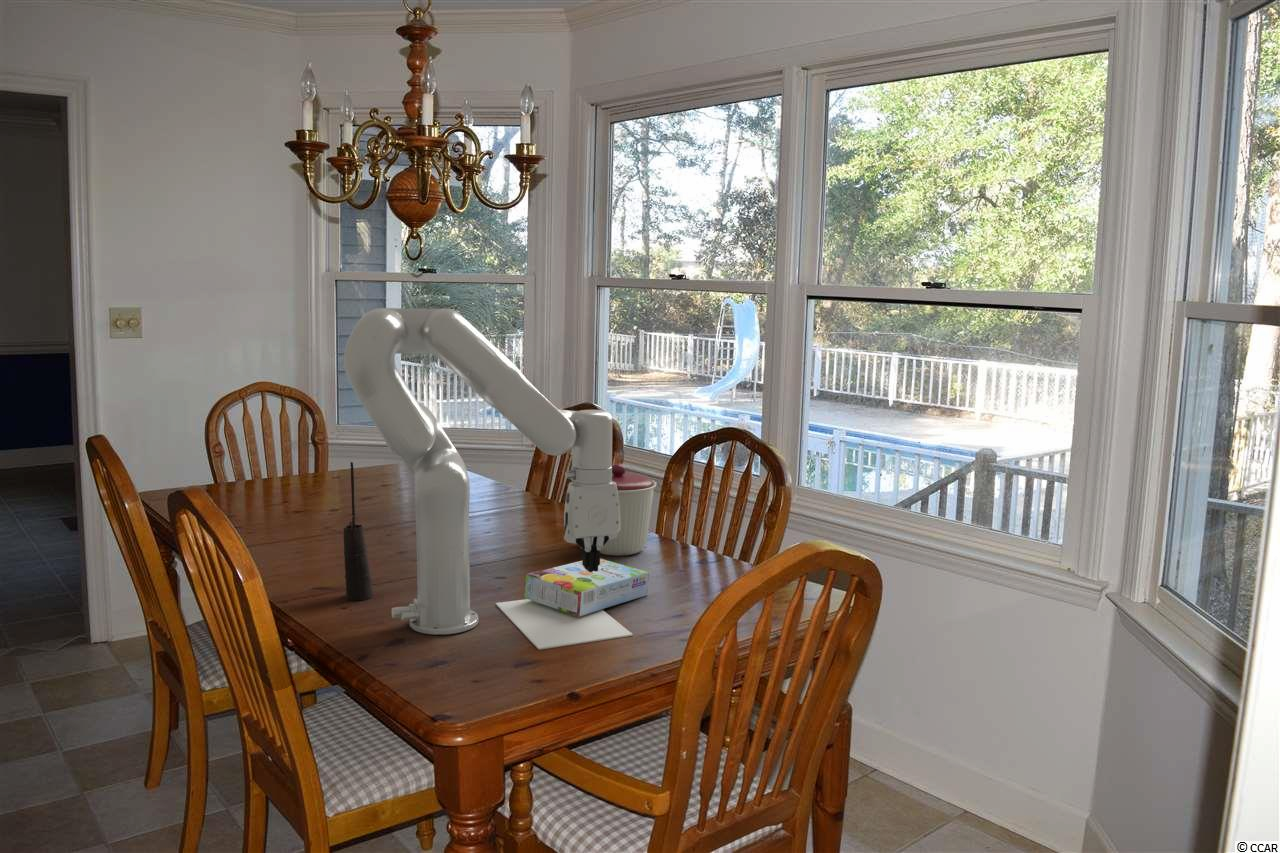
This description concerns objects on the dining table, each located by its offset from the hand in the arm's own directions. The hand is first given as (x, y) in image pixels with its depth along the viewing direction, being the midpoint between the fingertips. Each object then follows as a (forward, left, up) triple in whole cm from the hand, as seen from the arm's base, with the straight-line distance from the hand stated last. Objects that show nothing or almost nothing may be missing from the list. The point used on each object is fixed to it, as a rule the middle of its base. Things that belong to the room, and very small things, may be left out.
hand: (591, 569), depth 190 cm
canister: (+23, +40, -9) cm, 47 cm away
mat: (-6, 0, -9) cm, 11 cm away
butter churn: (-39, +29, -9) cm, 49 cm away
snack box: (+6, +2, -6) cm, 9 cm away
